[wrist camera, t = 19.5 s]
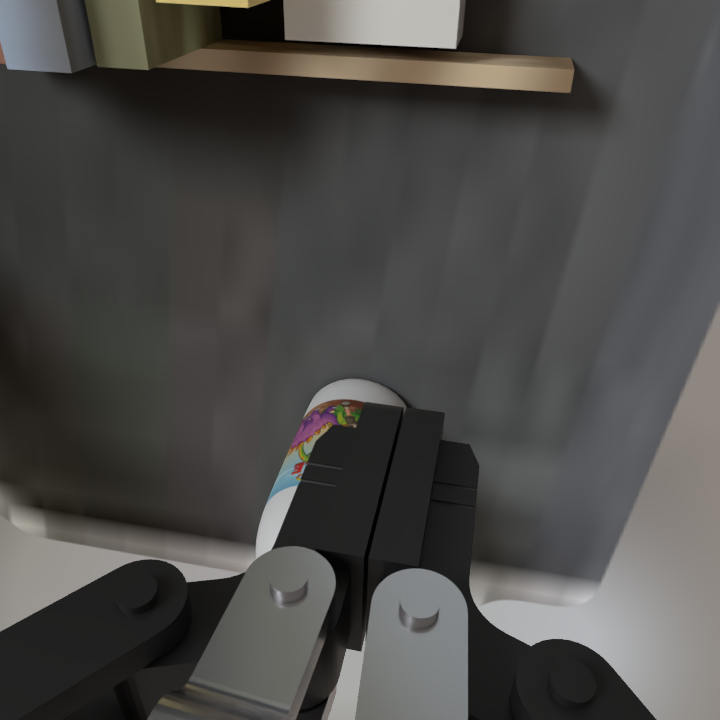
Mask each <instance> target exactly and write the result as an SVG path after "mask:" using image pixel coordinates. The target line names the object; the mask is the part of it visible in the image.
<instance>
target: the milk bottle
mask: <svg viewBox="0 0 720 720" xmlns="http://www.w3.org/2000/svg"><path fill="white" fill-rule="evenodd" d="M365 402H371V403H378V404H385V405H392V406H399V407H403V408H404V413H405V409H406V408H407V407H406V405H405V404H404V402H403V401H402V400H401V399H400V398H399V397H398V395H397V394H396V393H394V392H393V391H391V390H390V389H389V388H387V387H385V386H383V385H381V384H379V383H377V382H373V381H370V380H366V379H359V378H348V379H343V380H338V381H336V382H333V383H330V384H329V385H327V386H325V387H324V388H322V389H321V390H320V391H319V392H318V393H317V394H316V395H315V396H314V398H313V399H312V401H311V403H310V405H309V407H308V409H307V411H306V414H305V416H304V418H303V420H302V422H301V425H300V427H299V429H298V431H297V434H296V436H295V438H294V440H293V443H292V445H291V447H290V449H289V452H288V454H287V456H286V458H285V461H284V463H283V465H282V468H281V470H280V472H279V475H278V477H277V479H276V482H275V484H274V486H273V489H272V491H271V493H270V496H269V499H268V501H267V504H266V506H265V509H264V512H263V514H262V517H261V521H260V525H259V529H258V534H257V540H256V559H257V558H259V557H260V556H261V555H263V554H265V553H266V552H268V551H271V549H272V547H273V545H274V543H275V541H276V539H277V536H278V534H279V531H280V529H281V526H282V524H283V521H284V519H285V516H286V514H287V511H288V509H289V506H290V504H291V501H292V499H293V496H294V494H295V491H296V489H297V486H298V484H299V482H300V481H301V476H302V474H303V471H304V469H305V466H306V465H307V463H308V459H309V457H310V454H311V452H312V449H313V447H314V444H315V442H316V440H317V439H318V438H319V437H321V436H322V435H323V434H324V433H325V432H326V431H327V430H328V429H329V428H330V427H332V426H333V425H341V426H348V427H354V428H356V426H357V423H358V420H359V417H360V414H361V411H362V408H363V405H364V403H365Z"/></svg>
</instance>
